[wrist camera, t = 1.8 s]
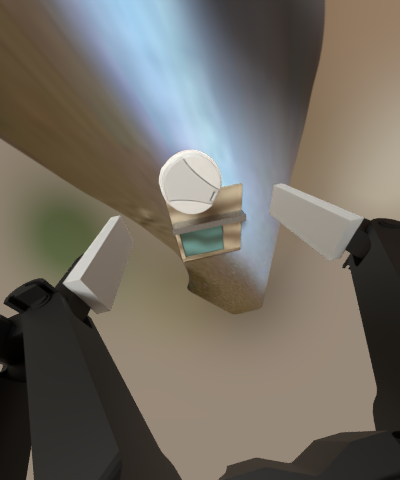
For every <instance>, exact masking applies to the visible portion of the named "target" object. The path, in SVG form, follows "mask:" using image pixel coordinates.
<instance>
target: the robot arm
mask: <svg viewBox="0 0 400 480" xmlns="http://www.w3.org/2000/svg"><path fill="white" fill-rule="evenodd" d="M269 214H270V215H271V216H273V217H274V218H275V219H276V220H278V221H279V222H280V223H282V224H283V225H284V226H286V227H287V228H288V229H289V230H290V231H292V232H293V233H294V234H296V235H297V236H298V237H300V238H301V239H302V240H303V241H305V242H306V243H307V244H308V245H310V246H311V247H312V248H314V249H315V250H316V251H317V252H319V253H320V254H321V255H322V256H324V257H325V258H326V259H328V260H333V259H338V258H341V256H342V255H343V253H344V251H345V250H347V251H348V252H350V255H349V257H348V258H347V260H346V262H345V263H344V264H343V268H345V267H346V266H347V265H350V267H349V269H350V270H351V274H352V278H353V283H354V287H355V292H356V296H357V300H358V305H359V310H360V314H361V318H362V323H363V327H364V332H365V336H366V341H367V345H368V349H369V354H370V358H371V363H372V367H373V372H374V376H375V381H376V385H377V395H376V398H375V400H374V403H373V416H374V423H375V428H376V431H365V432H344V433H338V434H335V435H331V436H328V437H325V438H321V439H318V440H314V441H313V442H312V443H311V444H310V445H309V446H308V447H307V448H306V449H305V450H304V451H303V452H302V453H301V454H300V455H299V456H298V457H297V458H296V459H295V460H294V461H293V462H292V463H284V462H278V461H272V460H266V459H261V458H253V459H250V460H246V461H243V462H240V463H236V464H233V465H229V466H227V470H226V473H225V474H224V475H223V476H222V477H220V478H219V480H400V221H396V220H392V219H386V218H377V219H373V220H371V221H370V220H367V219H365V218H364V217H361V216H359V215H356V214H354V213H352V212H350V211H347V210H345V209H342V208H340V207H337V206H335V205H333V204H330V203H328V202H326V201H323V200H321V199H318V198H316V197H314V196H311V195H309V194H306V193H304V192H302V191H299V190H297V189H295V188H292V187H290V186H287V185H285V184H283V183H282V184H277V185H274V187H273V193H272V200H271V206H270V213H269ZM133 244H134V241H133V239H132V237H131V235H130V233H129V231H128V229H127V227H126V225H125V223H124V221H123V219H122V217H121V216H115V217H111V218H110V220H109V221H108V222H107V224H106V225H105V226H104V228H103V229H102V231H101V232H100V233H99V234H98V236H97V237H96V238H95V240H94V241H93V243H92V244H91V245H90V247H89V248H88V249H87V251H86V252H85V253H84V254H82V255H81V256H80V257H79V258H77V259H76V261H75V262H74V263H73V265H72V267H70V268H69V270H68V272H66V274H65V275H64V276H63V278H62V279H61V280H60V281H59V283H58V284H57V285H56V287H55V288H54V287H53V286H52V285H50V284H49V283H48V282H47V281H46V280H44V279H42V278H41V279H40V278H38V279H35V280H32V281H30V282H27V283H25V284H23V285H22V286H20V287H18V288H17V289H15V290H14V291H13V292H12V293H10V294H9V296H8V297H7V298H6V299H5V301H4V304H5V305H7V306H9V307H10V308H12V309H14V310H16V311H17V312H19V314H17V315H14V316H12V317H10V318H6V317H4V316H2V315H0V364H2V365H3V368H2V370H1V372H0V480H26V476H27V470H28V463H29V457H30V451H31V445H32V459H33V472H34V480H182V479H181V478H180V476H179V474H178V473H177V471H176V469H175V467H174V466H173V465H172V463H171V462H170V461H169V460H168V459H167V458H166V457H165V456H164V454H163V453H162V452H161V450H160V448H159V447H158V445H157V443H156V441H155V439H154V437H153V435H152V433H151V432H150V430H149V428H148V426H147V424H146V422H145V421H144V418H143V416H142V414H141V413H140V411H139V409H138V407H137V405H136V403H135V401H134V399H133V397H132V396H131V393H130V392H129V390H128V388H127V386H126V384H125V382H124V380H123V378H122V376H121V374H120V372H119V371H118V369H117V367H116V365H115V363H114V361H113V359H112V357H111V355H110V354H109V352H108V350H107V348H106V346H105V344H104V342H103V340H102V338H101V337H100V334H99V332H98V331H97V329H96V327H95V325H94V323H93V321H92V319H91V318H90V317H89V316H88V313H89V311H90V308H91V309H92V310H93V311H94V312H95V313H96V314H99V313H103V312H107V311H110V310H111V308H112V305H113V302H114V299H115V296H116V293H117V290H118V288H119V285H120V282H121V279H122V276H123V273H124V270H125V267H126V264H127V262H128V259H129V256H130V253H131V250H132V247H133Z"/></svg>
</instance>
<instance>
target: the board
mask: <svg viewBox="0 0 400 480" xmlns="http://www.w3.org/2000/svg"><path fill="white" fill-rule="evenodd" d="M166 204H167V207H168V211H169V214H170V217H171V221H172V224H173V223H178V222H183V221H187V220H192V219H197V218H202V217H207V216H212V215H217V214H222V213H227V212H232V211H237V210H241V207H242V184H241V183H240V184H234V185H229V186H224V187H221V189H220V193H219V195H218V197H217V199H216V201H215V202H214V203H213V204H212V206H211V207H210V208H209V209H207V210H206V211H204V212H201V213H198V214H185V213H182V212H179V211H177V210H175V209H174V208H172V207H171V206H170V205H169V204H168V203H167V201H166ZM222 227H223V238H222ZM180 235H181V237H180ZM240 237H241V222H236V223H231V224H226V225H221V226H217V227H212V228H207V229H202V230H197V231H192V232H188V233H183V234H178V235H176V238H177V241H178V245H179V248H180V252H181V255H182V259H183V262H184V261H189V260H194V259H198V258H203V257H208V256H212V255H217V254H222V253H226V252H231V251H235V250H240ZM181 238H182V241H181ZM182 242H183V245H182ZM223 245H224V249H223ZM183 246H184V249H183ZM219 249H220V250H219ZM184 250H185V252H184ZM214 250H216V251H214ZM210 251H211V252H210ZM205 252H206V253H205ZM201 253H202V254H201ZM185 254H186V256H185ZM196 254H197V255H196ZM191 255H192V256H191ZM187 256H188V257H187Z"/></svg>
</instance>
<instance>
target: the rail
mask: <svg viewBox="0 0 400 480" xmlns="http://www.w3.org/2000/svg"><path fill="white" fill-rule="evenodd" d="M241 221H246V214H245V213H244V212H243V211H242V210H237V211H232V212H227V213H222V214H217V215H212V216H207V217H202V218H197V219H192V220H187V221H183V222H178V223H173V224H172V230H173V233H174V235H178V234H183V233H188V232H192V231H197V230H202V229H207V228H212V227H217V226H221V225H226V224H231V223H236V222H241Z"/></svg>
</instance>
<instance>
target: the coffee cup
mask: <svg viewBox="0 0 400 480" xmlns="http://www.w3.org/2000/svg"><path fill="white" fill-rule="evenodd" d="M159 185H160V188H161V191H162V194H163V196H164V198H165V200H166V201H167V203H168V204H169V205H170V206H171V207H172V208H174V209H175V210H177V211H179V212H182V213H185V214H198V213H201V212H204V211H206V210H207V209H209V208H210V207H211V206H212V204H213V203H214V202H215V201H216V199H217V197H218V195H219V193H220V189H221V174H220V171H219V168H218V166H217V164H216V163H215V161H214V160H213V159H212V158H211V157H210V156H208V155H207V154H205V153H203V152H201V151H197V150H184V151H181V152H178V153H176V154H175V155H173V156H172V157H171V158H170V159H169V160H168V161H167V162H166V164H165V165H164V166H163V167H162V169H161V171H160V176H159Z"/></svg>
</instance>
